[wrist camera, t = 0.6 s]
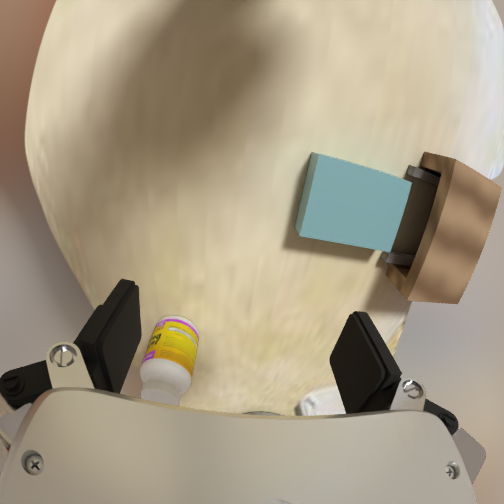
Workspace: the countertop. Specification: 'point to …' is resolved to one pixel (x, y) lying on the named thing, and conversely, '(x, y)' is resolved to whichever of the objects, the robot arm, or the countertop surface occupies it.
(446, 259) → the shelf dock
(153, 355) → the supplement bottle
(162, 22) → the countertop surface
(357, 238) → the pale blue foam block
